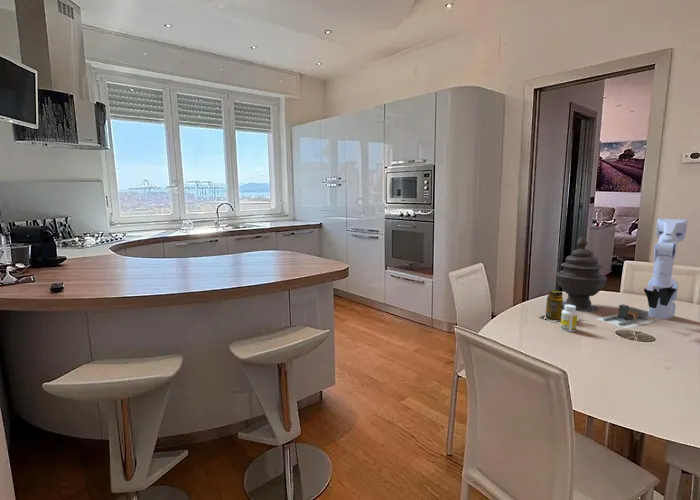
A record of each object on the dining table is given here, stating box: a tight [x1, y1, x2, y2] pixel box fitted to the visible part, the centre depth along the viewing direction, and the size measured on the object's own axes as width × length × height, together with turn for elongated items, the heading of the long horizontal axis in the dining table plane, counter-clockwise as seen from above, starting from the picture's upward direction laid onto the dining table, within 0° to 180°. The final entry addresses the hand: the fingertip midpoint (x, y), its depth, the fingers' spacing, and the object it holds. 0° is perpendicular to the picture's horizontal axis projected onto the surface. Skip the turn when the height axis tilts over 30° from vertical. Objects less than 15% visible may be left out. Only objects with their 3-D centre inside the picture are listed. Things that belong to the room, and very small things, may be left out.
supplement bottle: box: [560, 304, 578, 333], centre depth 150 cm, size 5×5×10 cm
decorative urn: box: [555, 235, 608, 313], centre depth 174 cm, size 20×20×35 cm
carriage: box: [615, 304, 635, 322], centre depth 157 cm, size 6×4×6 cm
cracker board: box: [596, 306, 656, 329], centre depth 158 cm, size 20×12×5 cm, turn 114°
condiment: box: [538, 289, 564, 323], centre depth 164 cm, size 7×8×12 cm
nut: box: [628, 310, 639, 320], centre depth 159 cm, size 4×4×3 cm
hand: (658, 306), depth 150 cm, fingers open, 7 cm apart
